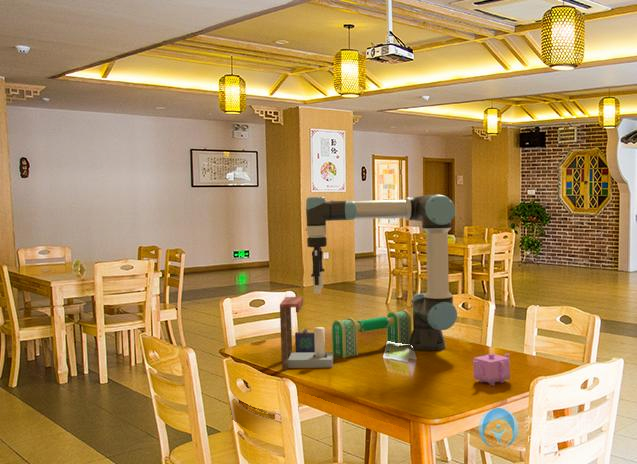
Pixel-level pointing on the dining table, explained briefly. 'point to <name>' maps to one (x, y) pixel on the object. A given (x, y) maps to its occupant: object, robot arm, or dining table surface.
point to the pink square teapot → (492, 368)
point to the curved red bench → (287, 326)
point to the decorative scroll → (348, 336)
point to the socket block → (310, 360)
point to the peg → (319, 342)
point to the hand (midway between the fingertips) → (318, 290)
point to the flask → (304, 341)
